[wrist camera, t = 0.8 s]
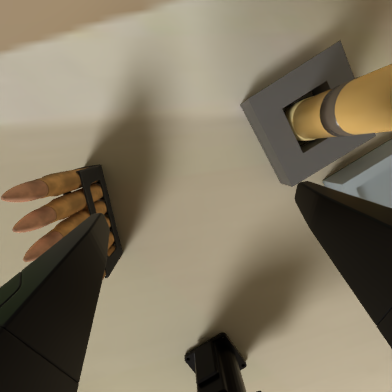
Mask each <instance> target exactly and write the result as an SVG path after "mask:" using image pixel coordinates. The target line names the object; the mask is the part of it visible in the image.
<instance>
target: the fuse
mask: <svg viewBox="0 0 392 392" xmlns="http://www.w3.org/2000/svg"><path fill="white" fill-rule="evenodd" d="M284 114H285V116H286V118H287V120H288V122H289V125H290V127H291V129H292V131H293V133H294V135H295V137H296V139H297V141H307V140H314V139H318V138H328V137H344V136H354V135H362V134H368V133H378V132H388V131H392V64H390V65H388V66H385V67H383V68H380V69H378V70H376V71H373V72H371V73H368V74H366V75H364V76H361V77H357V78H355V79H352V80H350V81H347V82H345V83H343V84H340V85H338V86H336V87H334V88H332V89H330V90H327V91H325V92H323V93H320V94H318V95H315V96H313V97H308V98H305V99H303V100H301V101H298V102H296V103H294V104H292V105H291V106H289V107H288V109H287V110H286V111H285V113H284Z"/></svg>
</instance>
